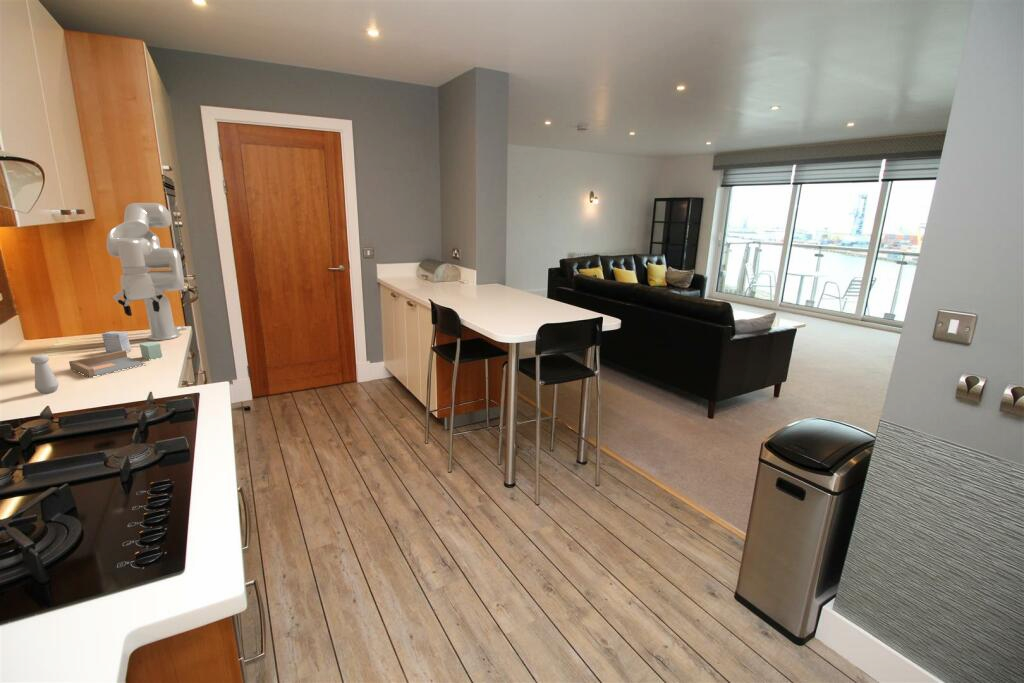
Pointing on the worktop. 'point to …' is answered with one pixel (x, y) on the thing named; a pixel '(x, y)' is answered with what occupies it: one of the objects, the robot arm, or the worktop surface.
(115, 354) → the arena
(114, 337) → the medicine box
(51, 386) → the salt shaker
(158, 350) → the green block
